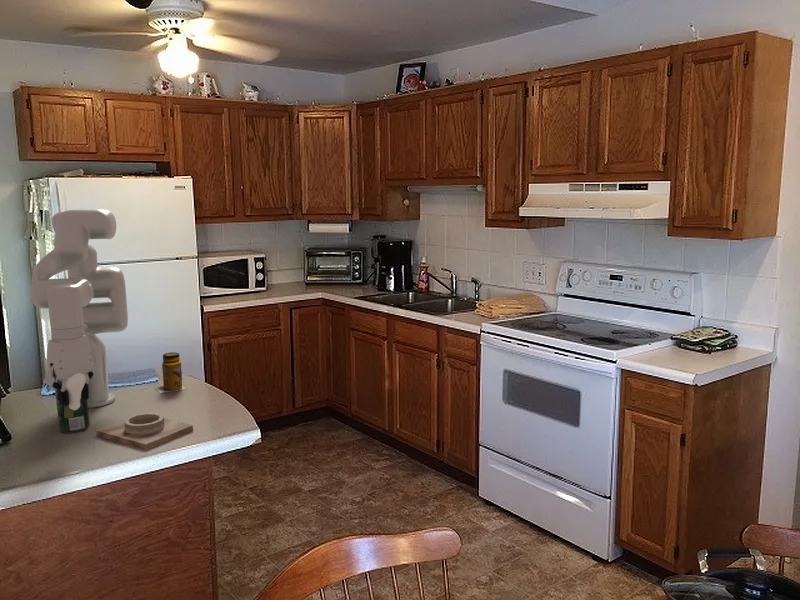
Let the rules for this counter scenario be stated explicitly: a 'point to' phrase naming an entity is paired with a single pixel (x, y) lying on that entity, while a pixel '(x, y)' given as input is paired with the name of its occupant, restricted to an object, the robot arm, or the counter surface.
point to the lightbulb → (75, 389)
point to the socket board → (145, 438)
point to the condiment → (171, 373)
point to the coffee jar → (72, 416)
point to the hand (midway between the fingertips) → (74, 400)
